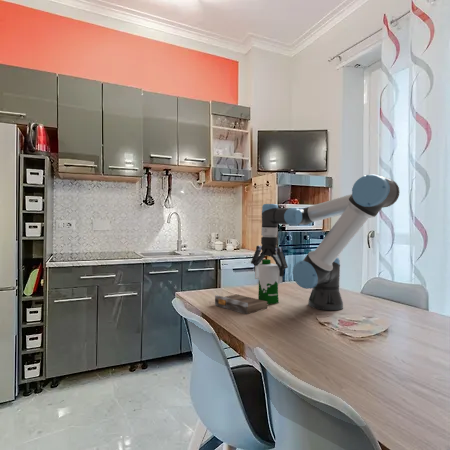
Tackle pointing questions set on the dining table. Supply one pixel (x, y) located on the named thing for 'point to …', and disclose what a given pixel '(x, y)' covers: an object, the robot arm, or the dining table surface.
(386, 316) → the dining table surface
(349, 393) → the dining table surface
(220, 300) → the brown flat box
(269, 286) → the soya milk
